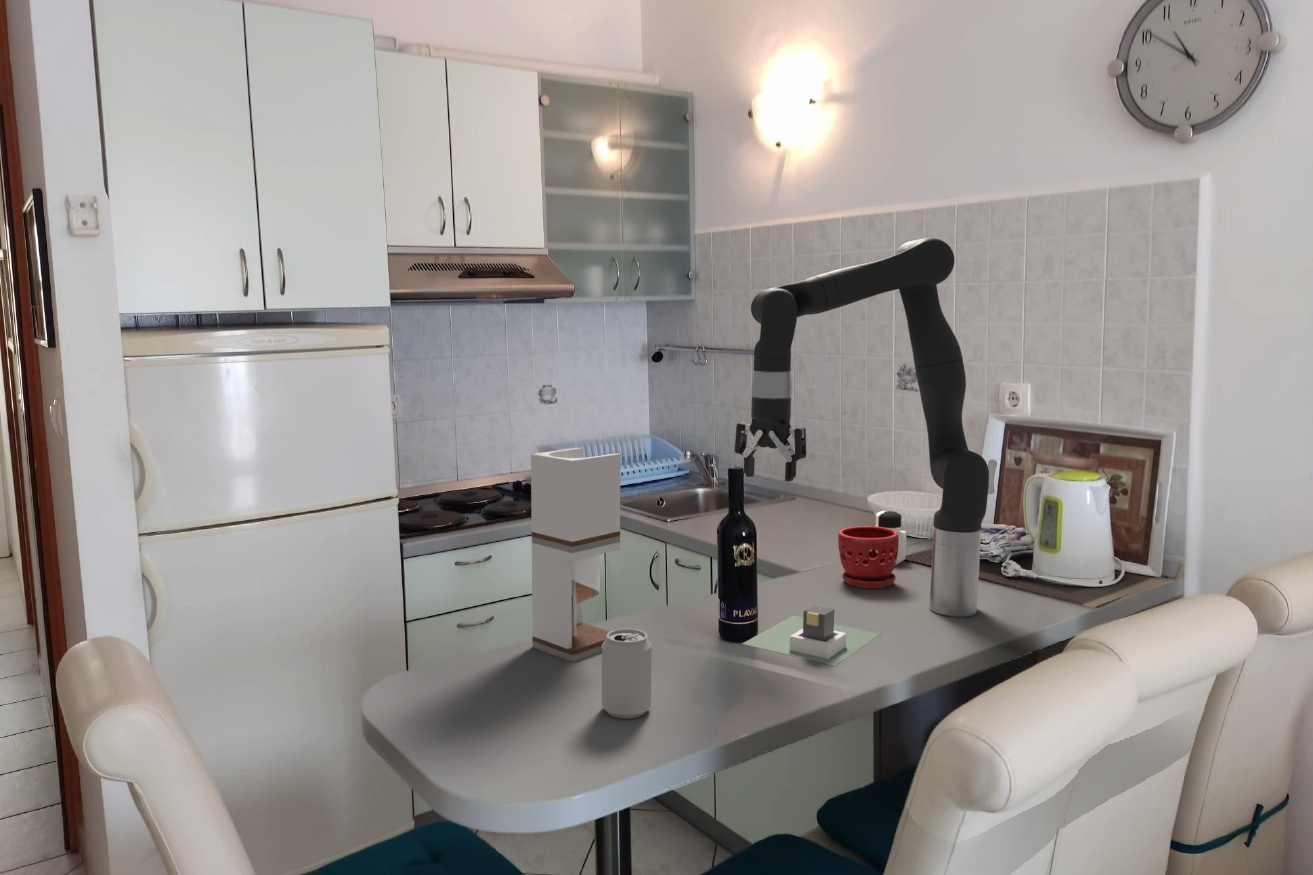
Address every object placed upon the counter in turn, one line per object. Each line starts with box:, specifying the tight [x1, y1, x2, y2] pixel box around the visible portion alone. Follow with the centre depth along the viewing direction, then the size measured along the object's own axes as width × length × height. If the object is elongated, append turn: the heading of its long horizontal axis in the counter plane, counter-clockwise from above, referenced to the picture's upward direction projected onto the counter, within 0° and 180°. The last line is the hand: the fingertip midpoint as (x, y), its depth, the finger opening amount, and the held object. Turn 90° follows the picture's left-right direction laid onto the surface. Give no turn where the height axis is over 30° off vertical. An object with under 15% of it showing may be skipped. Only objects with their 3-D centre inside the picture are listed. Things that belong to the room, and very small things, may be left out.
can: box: [601, 628, 653, 719], centre depth 145 cm, size 8×8×12 cm
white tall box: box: [530, 447, 621, 663], centre depth 171 cm, size 11×11×35 cm
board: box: [741, 615, 881, 667], centre depth 175 cm, size 20×18×4 cm
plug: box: [802, 604, 835, 642], centre depth 169 cm, size 5×4×7 cm
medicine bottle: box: [870, 510, 907, 566], centre depth 235 cm, size 7×7×12 cm
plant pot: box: [837, 525, 899, 589], centre depth 215 cm, size 13×13×12 cm
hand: (769, 478), depth 186 cm, fingers open, 8 cm apart
